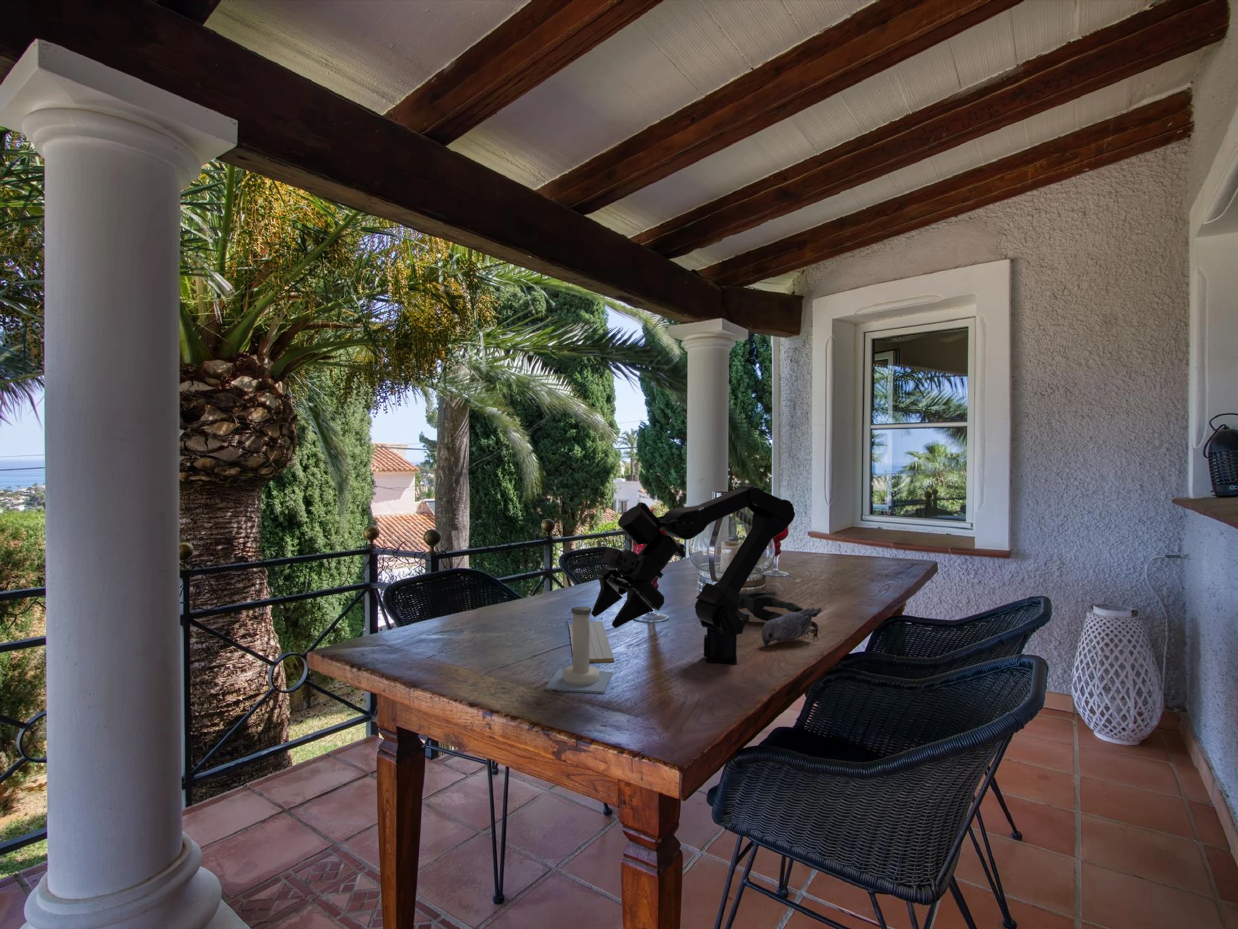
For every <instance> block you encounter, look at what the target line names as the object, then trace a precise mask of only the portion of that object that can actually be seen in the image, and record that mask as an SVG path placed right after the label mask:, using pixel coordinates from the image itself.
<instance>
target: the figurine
mask: <svg viewBox="0 0 1238 929" xmlns="http://www.w3.org/2000/svg"><path fill="white" fill-rule="evenodd" d="M776 595H778V593H777V592H776V591H764V592H763V591H762V592H760V591H754V592H750V593H747V592H742V591H740V593H739V604H738V609H737V611H736V615H737V616H738V617H739V618H740V619H741V620H742V621H745V622H749V621H750V617H749V615H750V614H752V615H753V616H754V617H755V618H757V619H759V620H762V621H766V622H767V621H769V620H772V619H776V618H779V617H781V616H783V615H784V614H782V613H779V612H776V611H771V610H768V609H765V608H766V607H767V608H779V609H786V610H787V611H789V612H790V613H791V612H799V611H801V610H803V609H804V608H803V607H801V606H799V605H797V604H796V603H794V602H787V601H784V600H780V599H778V598H776ZM764 607H765V608H764ZM744 609H746V610H748V612H744V613H743V612H742V611H740V610H744ZM816 610H817V612H815V613H814V614H813V615H811V617H812V618H817V616H818V615H819V614H821V612H822V607H819V608H816ZM811 628H813V629H815V630H817V629H818V630H819V625H818V623H816V622H815V621H812V620H811Z"/></svg>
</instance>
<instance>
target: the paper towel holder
mask: <svg viewBox="0 0 1238 929" xmlns="http://www.w3.org/2000/svg"><path fill="white" fill-rule="evenodd" d="M570 610H571V611H570V613H571V614H572V623H573V654H572V665H570V666H567V667H565V668H563V669H564V670H563V682H564V683H566V684H569V685H573V686H587V685H592V684H595V683H597V682H598V681H599V671H600V669H598V668H597V667H595V666H591V665H590V663H589V632H590V622H591V621H590V620H591V618H590V614H591V613H592V608H591V607H588V606H574V607H571V609H570Z"/></svg>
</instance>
